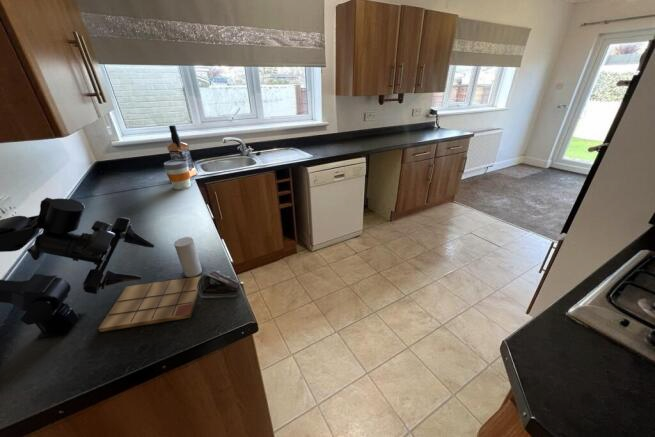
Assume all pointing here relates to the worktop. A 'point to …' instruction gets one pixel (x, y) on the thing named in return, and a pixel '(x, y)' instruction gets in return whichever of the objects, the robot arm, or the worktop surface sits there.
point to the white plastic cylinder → (188, 256)
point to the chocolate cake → (217, 286)
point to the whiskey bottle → (180, 150)
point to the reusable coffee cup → (178, 173)
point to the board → (152, 304)
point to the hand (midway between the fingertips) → (147, 261)
